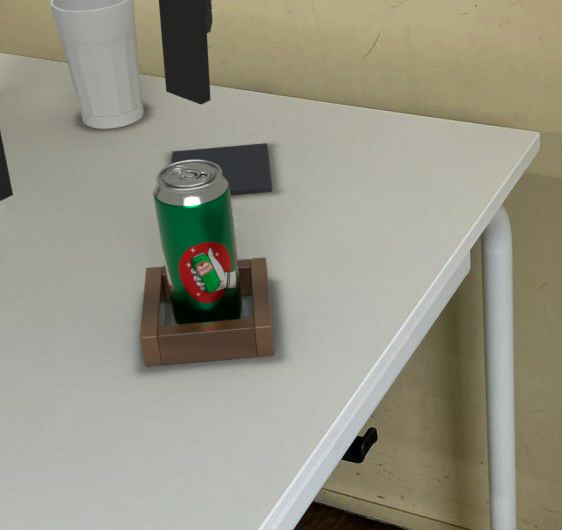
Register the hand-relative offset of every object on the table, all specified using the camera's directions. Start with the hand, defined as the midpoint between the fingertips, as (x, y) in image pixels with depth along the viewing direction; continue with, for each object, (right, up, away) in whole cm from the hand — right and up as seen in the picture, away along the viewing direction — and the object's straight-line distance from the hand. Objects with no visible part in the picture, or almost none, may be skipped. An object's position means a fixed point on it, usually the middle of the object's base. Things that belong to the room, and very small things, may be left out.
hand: (96, 139), depth 52 cm
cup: (-8, +14, +52) cm, 55 cm away
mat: (+4, +6, +40) cm, 41 cm away
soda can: (+4, -9, +21) cm, 23 cm away
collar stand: (+4, -8, +21) cm, 23 cm away
